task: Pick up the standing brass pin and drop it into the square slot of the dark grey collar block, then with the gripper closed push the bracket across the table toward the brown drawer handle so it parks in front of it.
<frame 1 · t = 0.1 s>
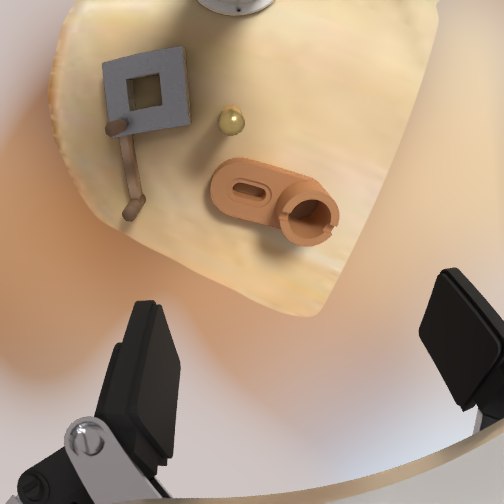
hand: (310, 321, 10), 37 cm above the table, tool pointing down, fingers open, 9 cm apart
collar block: (149, 91, 36), on the table
bracket: (270, 192, 46), on the table
brown drawer handle: (132, 161, 41), on the table
pin: (231, 115, 39), on the table
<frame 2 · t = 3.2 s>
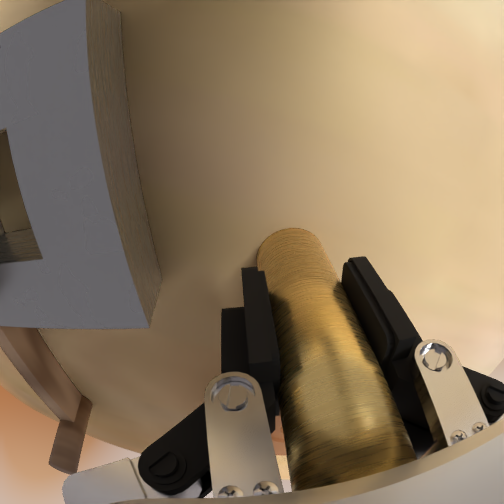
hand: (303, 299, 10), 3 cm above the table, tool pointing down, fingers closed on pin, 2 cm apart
collar block: (22, 179, 10), on the table
bracket: (346, 399, 20), on the table
brown drawer handle: (41, 346, 15), on the table
pin: (290, 258, 13), on the table, touching gripper
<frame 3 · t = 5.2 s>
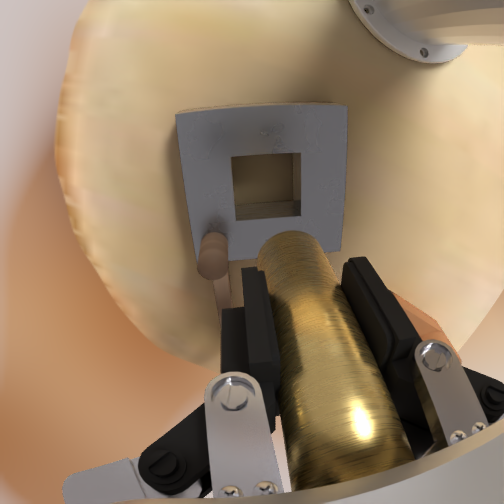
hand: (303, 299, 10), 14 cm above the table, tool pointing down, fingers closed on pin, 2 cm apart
collar block: (263, 174, 23), on the table
bracket: (391, 329, 34), on the table
brown drawer handle: (223, 285, 28), on the table
pin: (290, 260, 13), point 12 cm above the table, touching gripper
when the fingers open (5 cm above the table, at t = 7.1 s): pin drops 2 cm, resting in collar block.
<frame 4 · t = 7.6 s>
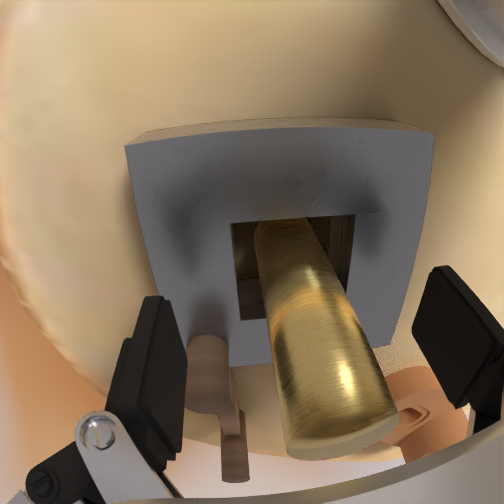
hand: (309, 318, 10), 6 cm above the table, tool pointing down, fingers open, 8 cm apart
collar block: (282, 236, 14), on the table
bracket: (410, 402, 26), on the table
brown drawer handle: (223, 373, 19), on the table
pin: (283, 237, 15), resting in collar block
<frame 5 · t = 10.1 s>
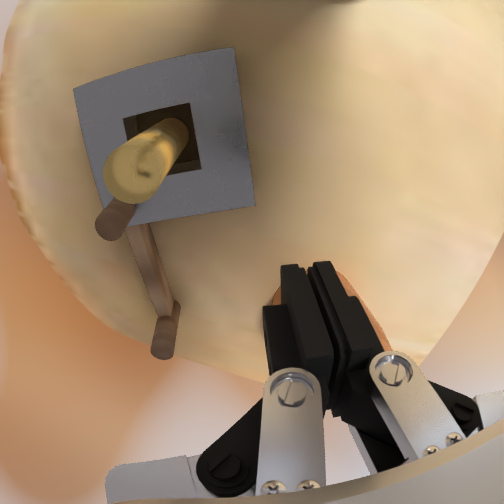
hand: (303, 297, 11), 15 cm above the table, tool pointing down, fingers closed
collar block: (169, 135, 21), on the table
bracket: (333, 323, 33), on the table
brown drawer handle: (152, 256, 26), on the table
pin: (170, 136, 21), resting in collar block
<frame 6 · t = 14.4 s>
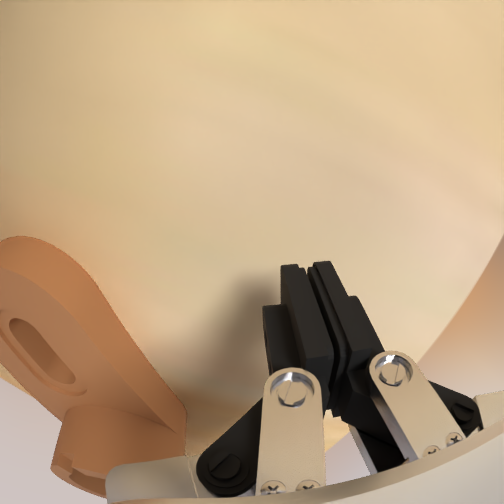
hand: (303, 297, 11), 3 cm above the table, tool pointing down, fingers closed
bracket: (91, 360, 16), on the table
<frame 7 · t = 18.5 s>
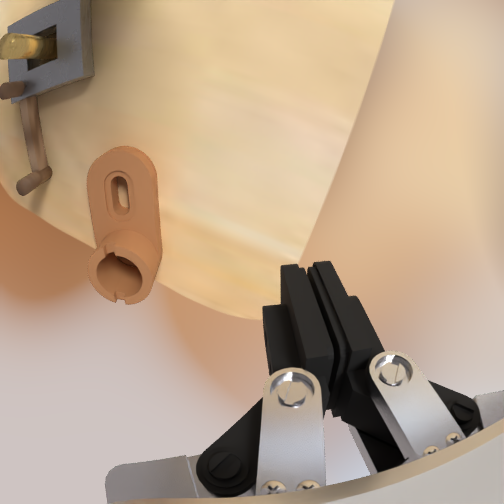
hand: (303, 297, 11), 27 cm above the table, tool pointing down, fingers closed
collar block: (53, 48, 24), on the table
bracket: (129, 214, 37), on the table
brown drawer handle: (37, 129, 29), on the table
pin: (53, 49, 24), resting in collar block
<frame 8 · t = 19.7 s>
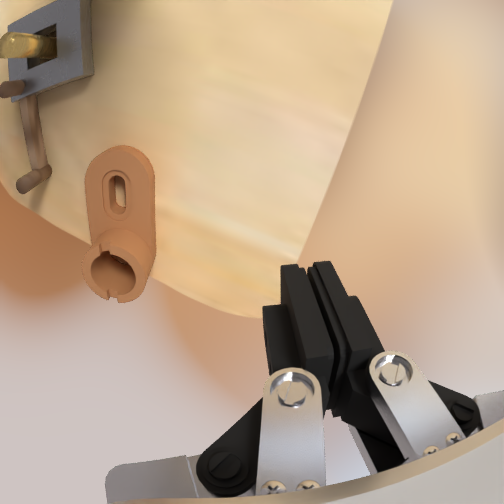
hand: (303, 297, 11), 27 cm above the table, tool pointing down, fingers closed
collar block: (53, 47, 24), on the table
bracket: (125, 213, 37), on the table
brown drawer handle: (37, 128, 29), on the table
pin: (53, 48, 24), resting in collar block
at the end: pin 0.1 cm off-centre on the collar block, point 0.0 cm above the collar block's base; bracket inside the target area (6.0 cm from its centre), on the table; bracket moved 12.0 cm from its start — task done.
